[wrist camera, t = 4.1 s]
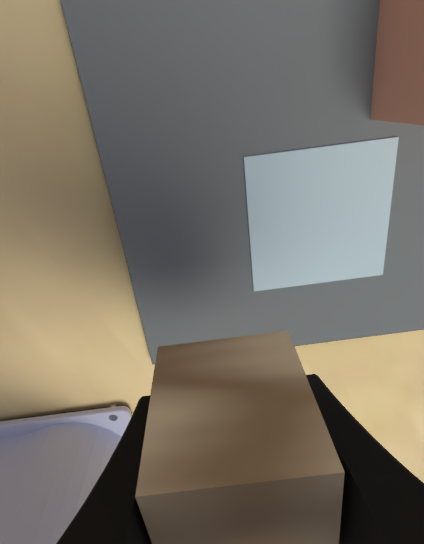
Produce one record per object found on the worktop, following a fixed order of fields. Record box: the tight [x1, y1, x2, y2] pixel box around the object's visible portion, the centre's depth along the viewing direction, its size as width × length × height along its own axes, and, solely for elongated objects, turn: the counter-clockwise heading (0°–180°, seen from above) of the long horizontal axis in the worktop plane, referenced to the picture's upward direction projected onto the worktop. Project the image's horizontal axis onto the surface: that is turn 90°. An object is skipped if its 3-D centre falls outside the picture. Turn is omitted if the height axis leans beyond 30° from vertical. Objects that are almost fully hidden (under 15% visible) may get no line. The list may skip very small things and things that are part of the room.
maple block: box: [135, 331, 345, 544], centre depth 10 cm, size 4×4×4 cm
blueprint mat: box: [61, 0, 424, 364], centre depth 15 cm, size 17×17×1 cm
